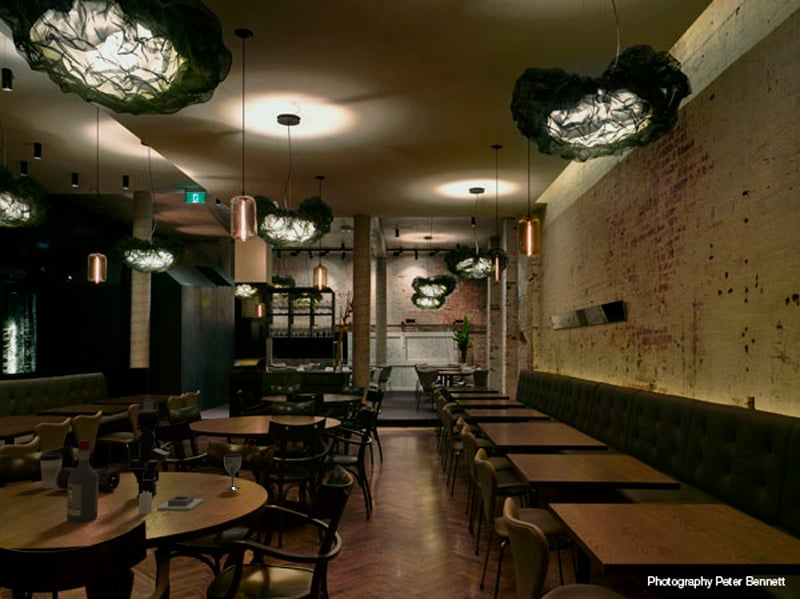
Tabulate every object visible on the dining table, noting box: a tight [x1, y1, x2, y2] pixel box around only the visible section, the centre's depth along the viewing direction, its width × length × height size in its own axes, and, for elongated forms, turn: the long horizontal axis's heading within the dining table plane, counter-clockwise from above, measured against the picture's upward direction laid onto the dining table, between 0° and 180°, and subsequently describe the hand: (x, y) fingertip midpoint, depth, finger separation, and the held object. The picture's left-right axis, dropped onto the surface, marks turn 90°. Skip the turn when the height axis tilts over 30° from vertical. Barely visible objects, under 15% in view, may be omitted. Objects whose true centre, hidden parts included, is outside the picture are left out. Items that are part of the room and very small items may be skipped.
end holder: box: [156, 495, 205, 511], centre depth 256 cm, size 14×14×3 cm
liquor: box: [66, 439, 99, 524], centre depth 237 cm, size 9×9×30 cm
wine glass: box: [223, 453, 243, 492], centre depth 286 cm, size 8×8×15 cm
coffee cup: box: [39, 452, 64, 489], centre depth 292 cm, size 10×10×15 cm
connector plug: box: [138, 491, 153, 515], centre depth 246 cm, size 4×4×8 cm
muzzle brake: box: [54, 467, 121, 493], centre depth 283 cm, size 10×28×10 cm, turn 78°
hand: (146, 482), depth 246 cm, fingers open, 9 cm apart
